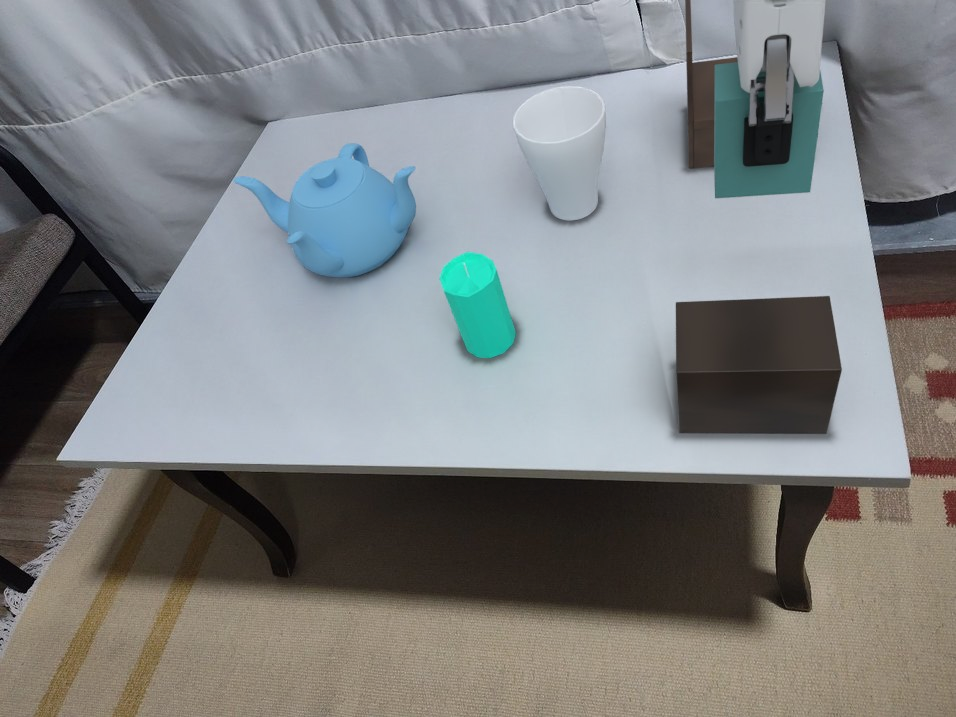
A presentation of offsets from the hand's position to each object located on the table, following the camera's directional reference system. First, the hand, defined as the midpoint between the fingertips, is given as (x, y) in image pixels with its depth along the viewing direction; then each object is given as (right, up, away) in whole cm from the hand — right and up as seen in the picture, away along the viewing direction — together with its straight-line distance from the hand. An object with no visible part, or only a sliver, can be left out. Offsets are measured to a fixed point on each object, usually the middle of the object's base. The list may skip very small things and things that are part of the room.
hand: (763, 138), depth 57 cm
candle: (-20, -15, +28) cm, 37 cm away
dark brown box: (+4, -21, +15) cm, 26 cm away
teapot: (-38, -2, +43) cm, 57 cm away
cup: (-10, +2, +38) cm, 39 cm away
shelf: (+12, +12, +38) cm, 42 cm away
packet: (+1, -2, +3) cm, 4 cm away
